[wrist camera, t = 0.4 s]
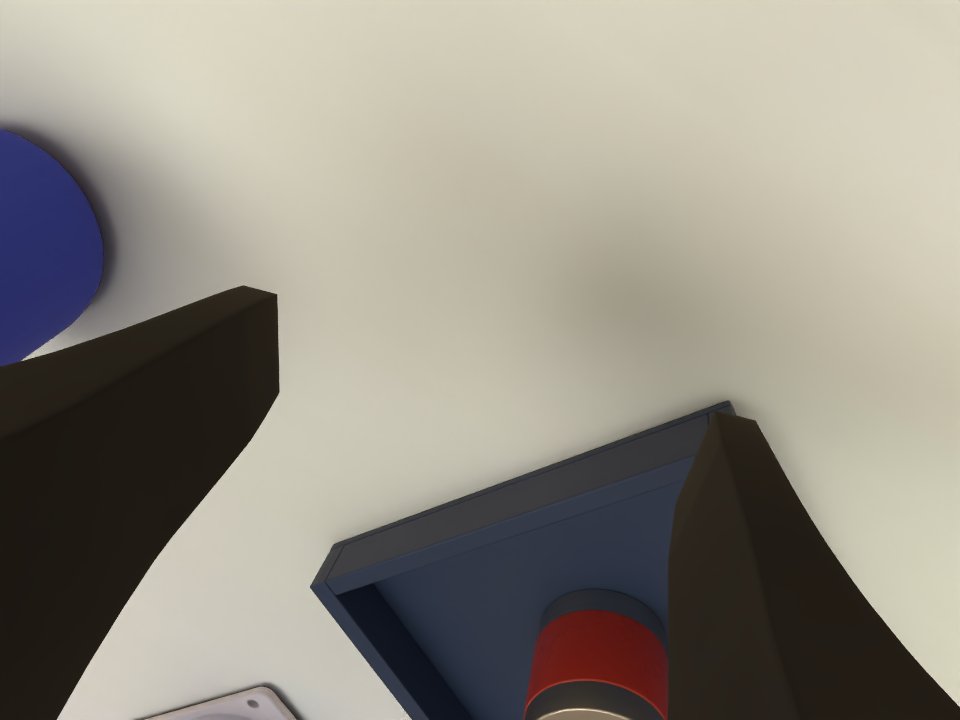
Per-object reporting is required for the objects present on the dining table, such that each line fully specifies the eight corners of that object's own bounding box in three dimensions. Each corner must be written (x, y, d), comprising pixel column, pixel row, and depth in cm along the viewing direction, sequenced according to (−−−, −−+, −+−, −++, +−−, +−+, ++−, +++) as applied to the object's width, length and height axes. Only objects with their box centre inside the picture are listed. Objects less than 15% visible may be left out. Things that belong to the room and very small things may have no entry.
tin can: (573, 694, 28) (561, 821, 24) (515, 606, 27) (491, 725, 23) (689, 667, 27) (698, 799, 22) (633, 573, 25) (631, 693, 21)
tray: (514, 789, 32) (506, 842, 30) (333, 544, 28) (308, 587, 26) (886, 721, 26) (906, 782, 24) (728, 400, 22) (737, 440, 20)
